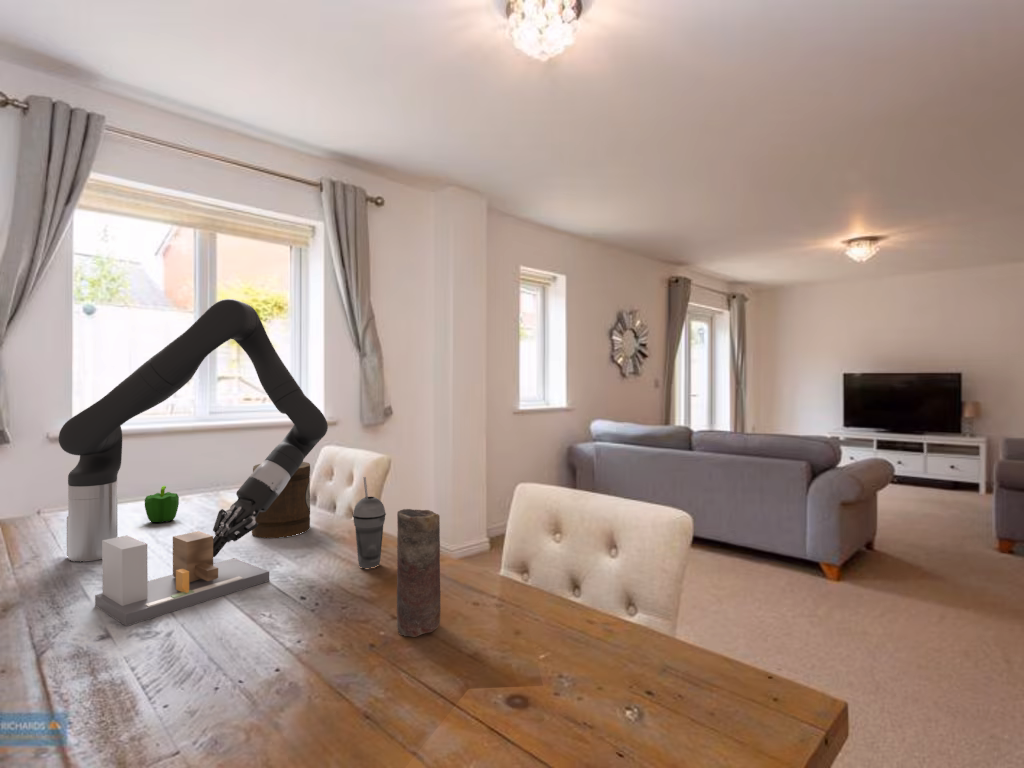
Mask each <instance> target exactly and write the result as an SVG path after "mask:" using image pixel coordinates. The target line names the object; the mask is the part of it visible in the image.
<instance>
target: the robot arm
mask: <svg viewBox="0 0 1024 768" xmlns="http://www.w3.org/2000/svg"><path fill="white" fill-rule="evenodd" d="M230 340H233V341H235V343H236V344H238V345H239V346H240V348H241V349H242V350H243V351H244V352H245V353H246V355H247V356H248V358H249V360H250V362H251V363H252V365H253V367H254V369H255V372H256V374H257V377H258V380H259V382H260V385H261V387H262V388H263V390H264V391H265V393H266V395H267V396H268V397H269V399H270V400H271V402H272V404H273V405H274V407H275V408H276V409H277V410H278V412H279V413H280V414H283V415H286V416H287V417H288V419H290V421H291V422H292V424H293V426H292V427H291V428H290V430H289V431H288V433H287V434H286V435H285V437H284V438H283V440H282V441H281V442H280V443H278V445H276V446H275V448H274V449H273V450H272V451H271V452H270V453H269V455H268V456H266V457H265V459H264V460H263V462H261V463H259V464H260V465H259V466H258V467H257V468H256V469H255V471H254V472H253V471H252V473H251V474H250V476H248V477H247V479H246V480H245V481H244V482H243V484H241V486H240V487H239V488H238V489H237V491H236V493H235V494H236V497H237V500H236V501H235V502H233V503H232V504H231V505H230V508H228V509H226V510H224V509H223V508H221V509H220V510H219V511H218V512H217V516H216V520H215V522H214V525H213V528H212V531H213V532H214V536H213V558H215V557H217V555H218V554H219V553H220V551H221V550H222V549H223V548H224V547H225V545H226V544H228V543H230V542H232V541H233V542H237V541H238V540H240V539H241V538H242V537H244V536H245V535H247V534H249V533H250V532H252V530H253V529H255V528H256V527H257V526H258V523H257V522H256V521H255V518H256V517H257V516H258V514H259V512H266V511H267V510H268V508H269V507H270V506H271V504H272V503H273V502H274V501H275V499H276V498H277V497H278V496H279V494H280V493H281V492H282V490H283V489H284V488H285V486H286V485H287V483H288V481H289V480H290V478H291V477H292V476H293V475H294V473H295V472H296V471H297V469H298V468H299V467H300V465H301V464H302V462H304V460H305V458H306V457H307V456H308V454H309V453H310V452H312V450H313V449H314V448H315V447H316V445H318V443H319V442H320V441H321V440H322V439H323V438H324V437H325V435H327V432H328V428H329V424H328V421H327V419H326V417H325V415H324V413H323V412H322V410H321V409H320V408H318V406H317V405H315V404H314V402H313V401H312V400H311V399H309V397H307V396H306V395H305V394H304V392H303V390H302V389H301V387H300V385H299V384H298V382H297V381H296V380H295V378H294V377H293V375H292V373H291V372H290V371H289V370H288V368H287V367H286V365H285V363H284V362H283V361H282V359H281V358H280V356H279V355H278V353H277V351H276V349H275V348H274V345H273V344H272V341H271V340H270V338H269V336H268V333H267V332H266V330H265V328H264V324H263V323H262V320H261V318H260V317H259V315H258V313H257V311H256V310H255V308H254V307H252V305H250V304H248V303H246V302H243V301H240V300H238V299H234V298H224V299H220V300H218V301H216V302H215V303H213V304H212V305H211V306H210V307H209V308H208V309H207V310H206V311H205V312H203V314H201V316H200V317H199V318H198V319H197V320H195V322H194V323H193V324H192V325H191V326H190V327H188V328H187V330H185V331H184V332H183V333H181V335H179V336H178V337H176V338H175V339H174V340H172V342H170V343H169V344H167V345H166V346H165V347H164V348H163V349H161V350H160V351H159V352H157V353H156V354H155V355H153V356H152V357H150V358H149V359H148V360H147V361H145V362H144V363H143V364H142V365H140V366H139V367H138V368H137V369H135V371H133V372H132V373H130V375H128V376H127V377H126V378H125V379H124V380H123V381H121V382H120V383H118V385H116V386H115V387H114V388H113V389H112V390H110V392H108V393H107V394H106V395H104V396H103V397H102V398H100V399H99V400H98V401H96V402H95V403H93V404H91V405H90V406H88V407H86V408H85V409H84V410H82V411H80V412H78V413H77V414H75V415H74V416H72V417H71V418H69V419H68V420H67V421H66V422H65V423H64V424H63V425H62V427H61V429H60V431H59V433H58V443H59V446H60V448H61V450H63V451H64V452H66V453H67V454H68V455H73V456H79V460H78V462H77V464H76V466H75V467H74V468H73V469H71V471H70V472H69V473H68V474H67V475H68V476H67V484H68V485H67V490H68V491H67V492H68V493H67V494H68V495H67V498H68V499H67V502H68V503H67V504H68V505H67V507H68V508H67V509H68V514H67V515H68V516H66V557H67V556H68V557H67V558H68V561H70V560H71V561H70V562H75V561H80V562H81V561H83V562H92V561H99V560H102V540H107V539H112V538H117V537H118V473H119V471H120V470H121V466H122V454H123V453H122V452H123V431H122V425H124V424H125V423H126V422H128V421H130V420H131V419H132V418H135V417H137V416H138V415H140V414H143V413H144V412H146V411H149V410H150V409H152V408H154V407H156V406H157V405H159V404H161V403H163V402H165V401H166V400H168V399H169V398H171V397H172V396H173V395H174V394H176V393H178V391H180V389H182V388H183V387H185V385H187V384H188V383H189V382H190V381H191V379H192V378H193V377H194V375H195V374H196V372H197V371H198V369H199V367H200V366H201V364H202V363H203V361H204V360H205V359H206V357H207V356H209V355H210V354H211V353H212V352H213V351H215V350H216V349H218V348H219V347H220V346H221V345H223V344H225V343H226V342H227V341H230ZM80 562H79V563H80ZM81 563H82V562H81Z"/></svg>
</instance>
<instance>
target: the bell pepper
mask: <svg viewBox="0 0 1024 768" xmlns="http://www.w3.org/2000/svg"><path fill="white" fill-rule="evenodd" d="M166 489H167V486H166V485H162V486H161V488H160V492H157V493H154V494H150V495H146V496H145V499H144V509H145V514H146V516H147V520H149V522H150V521H151V522H160V523H165V522H164V521H169V522H171V521H170V520H172V521H173V519H175V518H176V517H177V512H178V508H179V505H180V504H179V503H180V497H179V495H178V493H175V492H171V491H167V492H165V491H166ZM162 521H163V522H162ZM151 522H150V523H151Z"/></svg>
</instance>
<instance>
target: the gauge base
mask: <svg viewBox="0 0 1024 768" xmlns="http://www.w3.org/2000/svg"><path fill="white" fill-rule="evenodd" d="M101 560H102V563H101V564H102V567H101V568H102V574H101V575H102V576H101V578H102V592H101V593H98V594H95V595H94V606H95V607H96V608H97V609H99V610H100V611H102V612H104V613H105V614H107V615H108V616H110V617H111V618H113V619H114V620H116V621H118V622H119V623H120V624H123V626H125V627H129V626H131V625H134V624H138V623H141V622H143V621H147V620H150V619H155V618H156V617H160V616H163V615H167V614H169V613H172V612H175V611H178V610H182V609H185V608H188V607H192V606H195V605H198V604H200V603H204V602H207V601H210V600H214V599H216V598H219V597H223V596H227V595H229V594H233V593H236V592H238V591H243V590H244V589H249V588H251V587H255V586H257V585H261V584H263V583H266V582H267V583H268V582H269V581H270V570H267V569H264V568H261V567H259V566H257V565H254V564H251V563H249V562H246V561H243V560H241V559H238V558H229V559H226V560H222V561H218V562H215V563H214V562H213V566H215V567H217V568H218V578H217V579H214V580H210V581H206V580H204V579H199V580H196V581H192V582H189V592H188V593H186V592H180V591H178V590H176V578H175V577H173V574H169V575H165V576H162V577H158V578H155V579H151V580H148V575H149V573H148V543H145V542H144V541H141V540H139V539H136V538H134V537H132V536H129V535H123V536H117V538H112V539H107V540H102V559H101Z"/></svg>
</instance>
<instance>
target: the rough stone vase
mask: <svg viewBox="0 0 1024 768" xmlns="http://www.w3.org/2000/svg"><path fill="white" fill-rule="evenodd" d="M440 525H441V524H440V514H438V513H436V512H434V511H432V510H429V509H412V508H403V509H399V510H398V511H397V525H396V527H397V532H396V533H397V535H396V537H397V544H396V545H397V546H396V547H397V549H396V553H397V559H396V561H397V563H396V564H397V565H396V567H397V569H396V571H397V572H396V573H397V575H396V576H397V577H396V583H397V584H396V628H397V632H398V634H399V633H400V634H401V635H400V634H399V635H400V636H402V635H404V636H403V637H413V638H417V637H419V636H421V635H423V634H427V633H432V632H434V631H436V629H438V628H439V626H440V623H441V618H442V617H441V563H440V562H441V561H440V560H441V537H440V534H441V533H440V532H441V531H440V528H441V527H440Z"/></svg>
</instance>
